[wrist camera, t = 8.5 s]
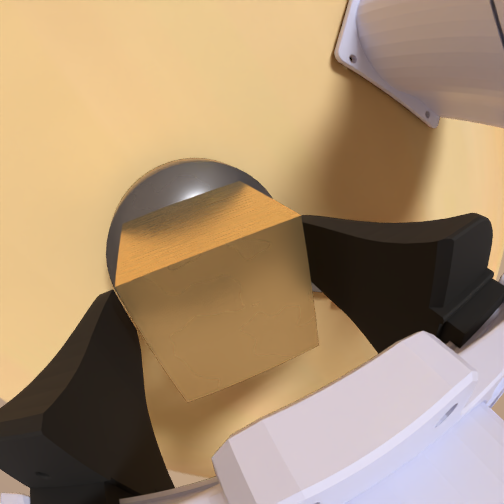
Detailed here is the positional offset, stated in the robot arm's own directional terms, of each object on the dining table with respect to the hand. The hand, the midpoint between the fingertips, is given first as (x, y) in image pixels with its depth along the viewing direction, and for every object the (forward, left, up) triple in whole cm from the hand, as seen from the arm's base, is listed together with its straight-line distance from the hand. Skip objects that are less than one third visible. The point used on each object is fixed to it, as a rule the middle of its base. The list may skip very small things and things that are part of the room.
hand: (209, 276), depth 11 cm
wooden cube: (0, 0, -2) cm, 2 cm away
